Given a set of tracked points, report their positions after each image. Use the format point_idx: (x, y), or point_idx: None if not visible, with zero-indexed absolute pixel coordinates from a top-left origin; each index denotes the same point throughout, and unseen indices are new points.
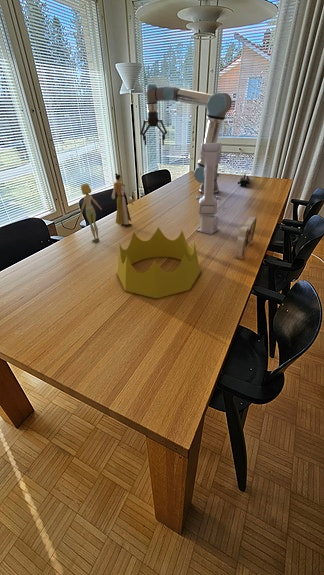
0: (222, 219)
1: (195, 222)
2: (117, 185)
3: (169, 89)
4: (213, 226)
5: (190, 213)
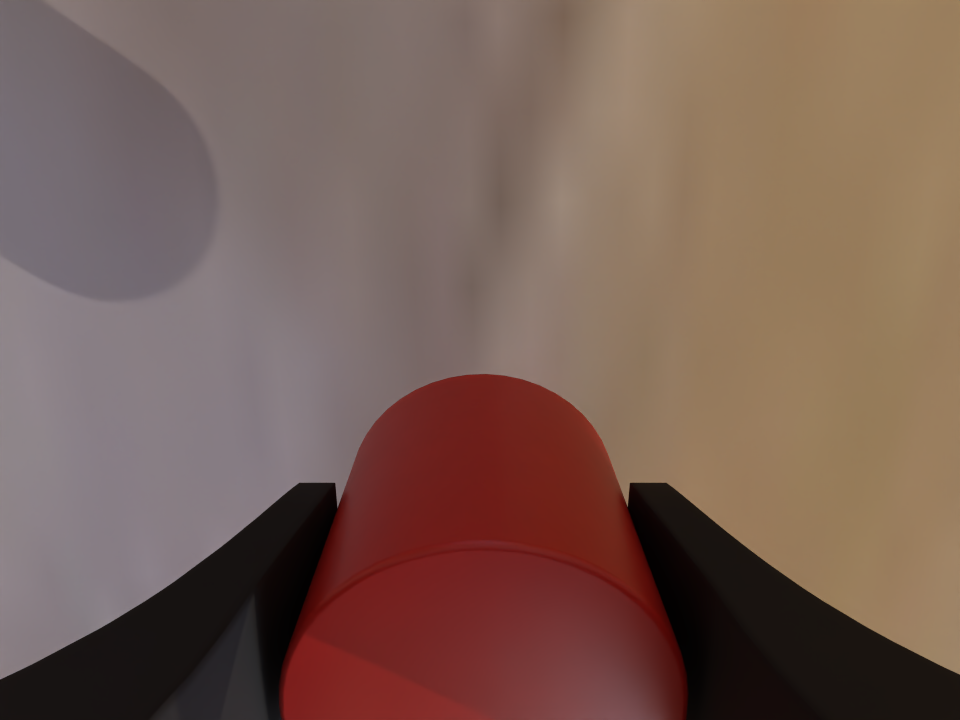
0: (38, 314)
1: (857, 13)
2: None
3: None
4: None
5: None
